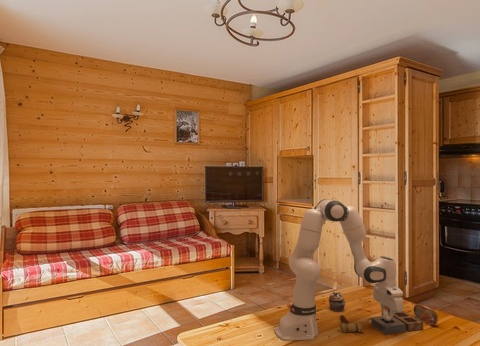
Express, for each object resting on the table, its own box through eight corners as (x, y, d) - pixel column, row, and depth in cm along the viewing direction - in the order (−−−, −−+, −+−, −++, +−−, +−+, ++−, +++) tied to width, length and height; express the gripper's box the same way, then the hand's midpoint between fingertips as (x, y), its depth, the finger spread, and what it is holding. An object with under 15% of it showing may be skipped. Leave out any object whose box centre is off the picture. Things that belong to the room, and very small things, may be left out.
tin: (413, 316, 195) (413, 302, 195) (418, 316, 196) (417, 301, 196) (434, 328, 181) (433, 312, 181) (439, 327, 181) (438, 311, 182)
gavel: (331, 311, 197) (349, 311, 197) (332, 319, 196) (349, 319, 196) (342, 324, 176) (361, 324, 176) (342, 334, 175) (362, 333, 175)
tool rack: (408, 331, 177) (408, 323, 177) (381, 315, 198) (381, 308, 198) (423, 329, 179) (423, 322, 179) (395, 313, 200) (395, 306, 200)
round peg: (386, 329, 178) (386, 308, 179) (381, 326, 182) (381, 305, 183) (393, 329, 179) (393, 308, 179) (388, 325, 183) (388, 305, 183)
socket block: (385, 334, 174) (384, 326, 174) (371, 324, 185) (370, 317, 185) (405, 332, 176) (405, 324, 176) (390, 322, 188) (390, 315, 188)
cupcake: (327, 311, 205) (327, 294, 205) (330, 305, 214) (329, 289, 214) (344, 313, 201) (344, 296, 201) (346, 307, 210) (345, 291, 210)
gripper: (370, 282, 191) (370, 307, 190) (394, 294, 171) (394, 322, 170) (380, 281, 192) (380, 306, 192) (405, 293, 172) (405, 321, 172)
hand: (387, 314), depth 181 cm, fingers closed on round peg, 4 cm apart
